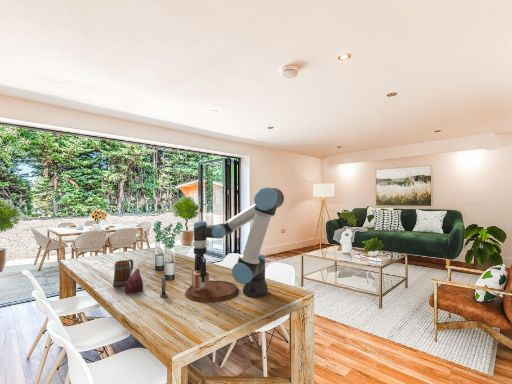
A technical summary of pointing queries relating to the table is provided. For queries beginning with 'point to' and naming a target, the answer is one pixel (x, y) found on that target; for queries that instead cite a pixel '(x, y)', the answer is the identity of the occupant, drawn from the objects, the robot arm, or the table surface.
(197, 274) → the c link
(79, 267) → the table surface
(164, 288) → the stand
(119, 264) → the mug
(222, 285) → the cutting board
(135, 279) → the vegetable
